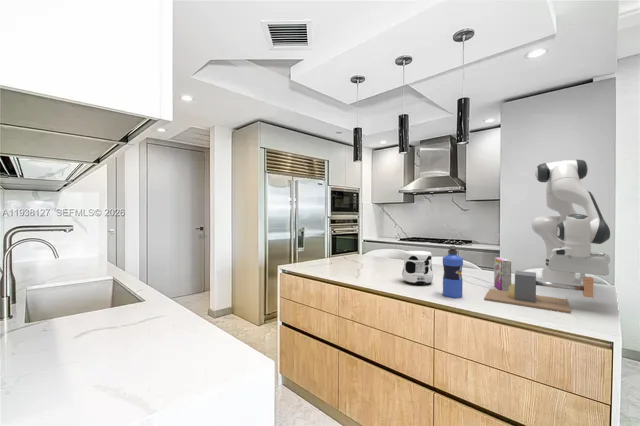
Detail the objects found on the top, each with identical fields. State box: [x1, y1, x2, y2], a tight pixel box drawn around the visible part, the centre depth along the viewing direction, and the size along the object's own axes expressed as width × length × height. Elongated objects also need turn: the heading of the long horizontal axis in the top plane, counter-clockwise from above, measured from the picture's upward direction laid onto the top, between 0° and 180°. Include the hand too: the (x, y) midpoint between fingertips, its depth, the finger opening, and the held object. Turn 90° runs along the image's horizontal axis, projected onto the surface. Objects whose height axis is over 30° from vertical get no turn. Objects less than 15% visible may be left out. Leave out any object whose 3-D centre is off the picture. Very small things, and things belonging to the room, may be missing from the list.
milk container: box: [401, 250, 434, 285], centre depth 179 cm, size 17×17×18 cm
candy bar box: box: [493, 256, 512, 291], centre depth 164 cm, size 11×5×16 cm, turn 168°
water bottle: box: [442, 245, 464, 299], centre depth 153 cm, size 9×9×25 cm
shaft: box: [536, 276, 594, 298], centre depth 137 cm, size 4×24×8 cm, turn 54°
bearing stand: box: [483, 270, 572, 314], centre depth 144 cm, size 20×32×13 cm, turn 54°
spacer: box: [509, 283, 515, 299], centre depth 147 cm, size 6×2×6 cm, turn 144°
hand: (577, 283), depth 133 cm, fingers closed
